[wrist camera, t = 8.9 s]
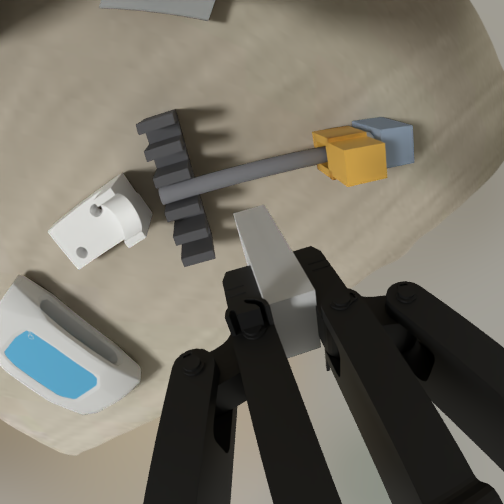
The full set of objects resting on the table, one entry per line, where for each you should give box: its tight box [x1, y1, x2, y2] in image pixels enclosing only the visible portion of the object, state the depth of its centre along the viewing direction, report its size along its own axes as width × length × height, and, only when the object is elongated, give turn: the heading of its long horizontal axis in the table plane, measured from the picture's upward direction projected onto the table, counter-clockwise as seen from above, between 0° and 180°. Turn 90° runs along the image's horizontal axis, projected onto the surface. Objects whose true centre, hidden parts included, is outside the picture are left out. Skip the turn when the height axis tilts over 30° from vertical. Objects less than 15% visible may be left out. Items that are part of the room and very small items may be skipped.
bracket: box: [48, 172, 153, 270], centre depth 37 cm, size 13×7×8 cm, turn 117°
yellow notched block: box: [312, 126, 387, 187], centre depth 35 cm, size 5×5×9 cm
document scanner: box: [0, 275, 141, 415], centre depth 47 cm, size 21×28×6 cm
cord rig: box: [136, 109, 414, 267], centre depth 37 cm, size 32×18×8 cm, turn 102°
